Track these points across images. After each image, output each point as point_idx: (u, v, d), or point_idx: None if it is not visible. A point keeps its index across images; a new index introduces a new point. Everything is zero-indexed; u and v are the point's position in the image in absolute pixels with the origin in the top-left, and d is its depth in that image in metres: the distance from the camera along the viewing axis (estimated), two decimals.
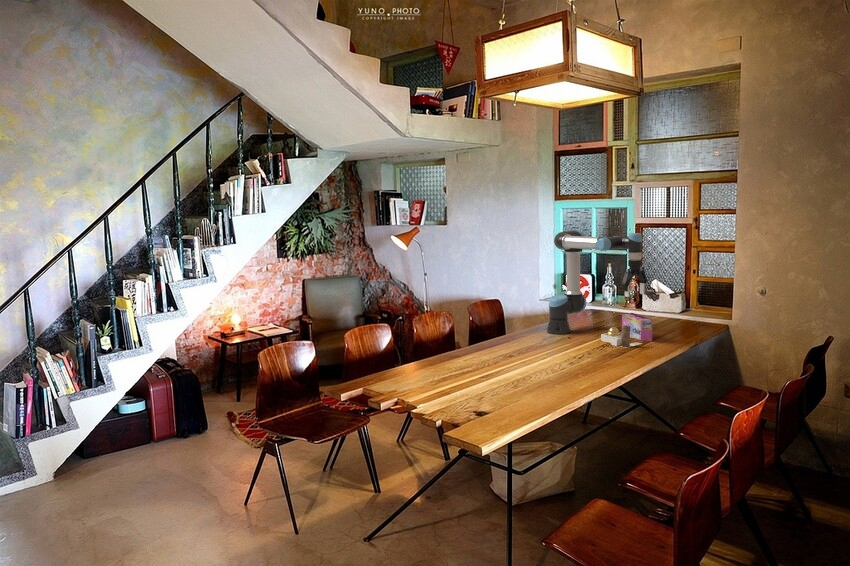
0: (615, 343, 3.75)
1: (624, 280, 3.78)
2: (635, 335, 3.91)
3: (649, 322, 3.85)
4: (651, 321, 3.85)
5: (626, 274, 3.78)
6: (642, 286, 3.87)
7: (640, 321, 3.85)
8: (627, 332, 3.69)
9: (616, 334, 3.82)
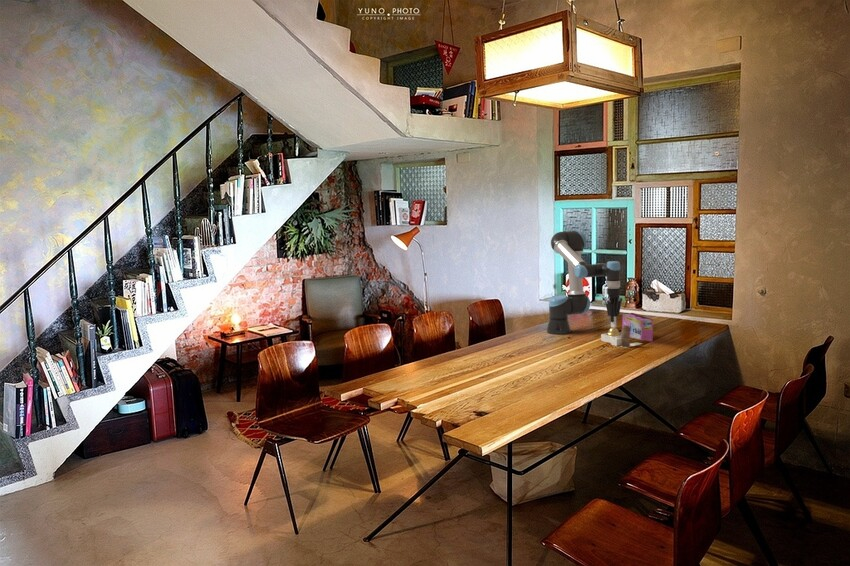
0: (615, 343, 3.75)
1: (608, 312, 3.82)
2: (635, 335, 3.91)
3: (650, 322, 3.85)
4: (651, 321, 3.85)
5: (607, 306, 3.81)
6: None
7: (641, 321, 3.85)
8: (627, 332, 3.69)
9: (616, 334, 3.82)
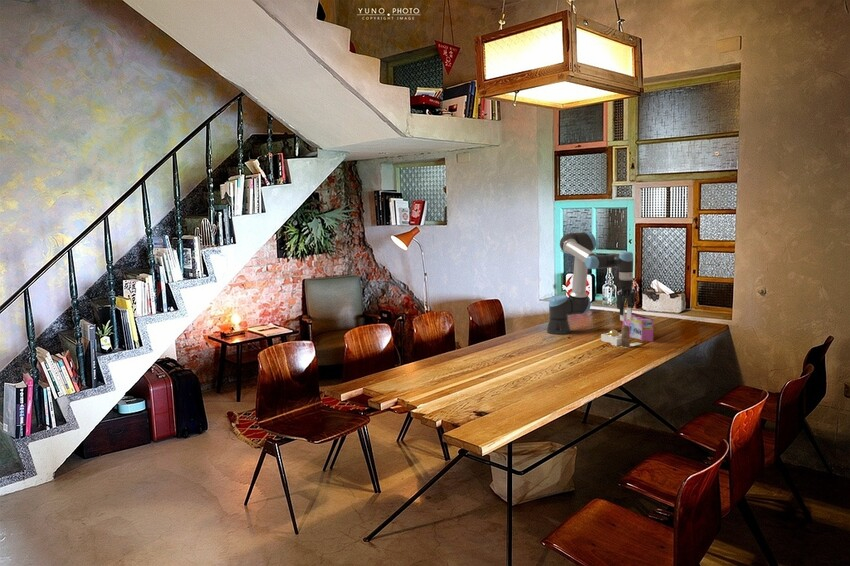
0: (615, 343, 3.75)
1: (618, 304, 3.65)
2: (636, 335, 3.91)
3: (650, 322, 3.85)
4: (652, 321, 3.85)
5: (618, 297, 3.65)
6: (629, 311, 3.70)
7: (641, 321, 3.85)
8: (627, 332, 3.69)
9: None
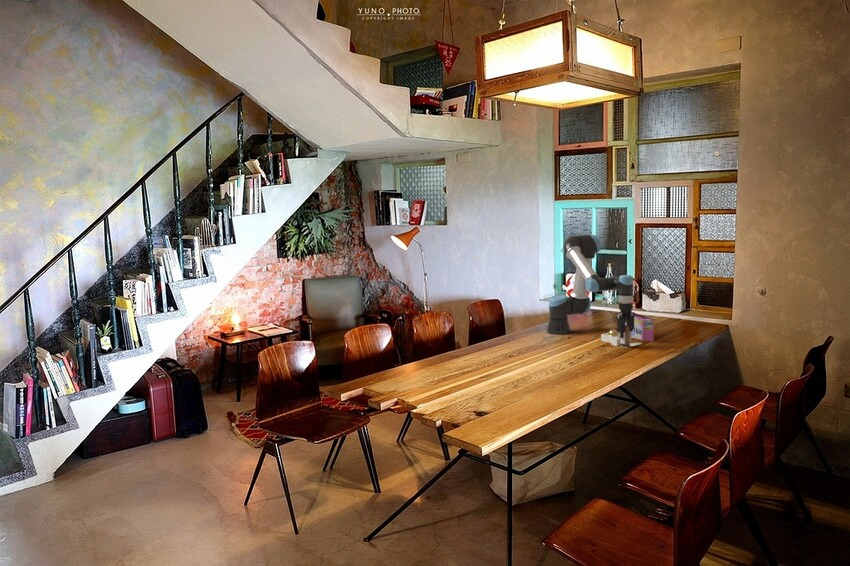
0: (615, 343, 3.75)
1: (619, 327, 3.67)
2: (636, 335, 3.91)
3: (651, 322, 3.85)
4: (652, 321, 3.85)
5: (618, 321, 3.67)
6: None
7: (641, 321, 3.85)
8: (627, 332, 3.69)
9: None
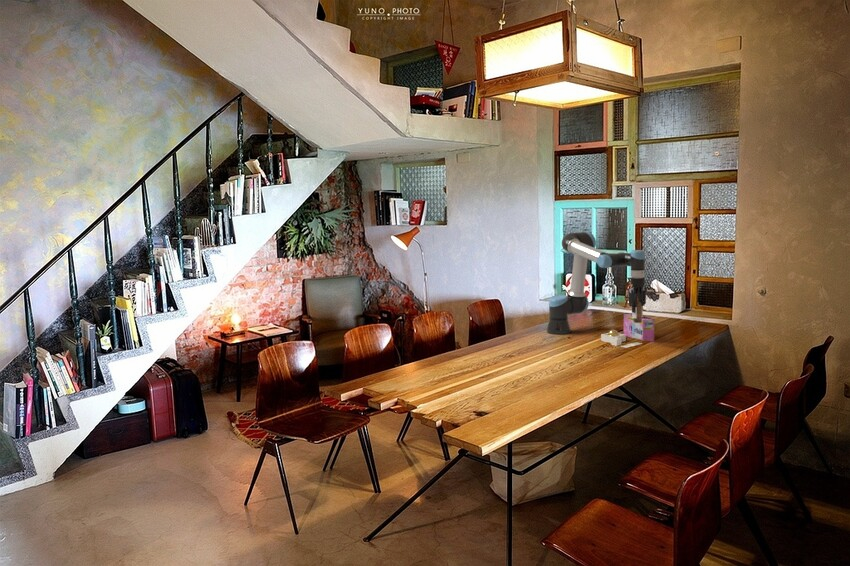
0: (615, 343, 3.75)
1: (630, 302, 3.71)
2: (637, 335, 3.91)
3: (651, 322, 3.85)
4: (653, 321, 3.85)
5: (630, 295, 3.70)
6: None
7: (642, 321, 3.85)
8: (639, 308, 3.73)
9: None
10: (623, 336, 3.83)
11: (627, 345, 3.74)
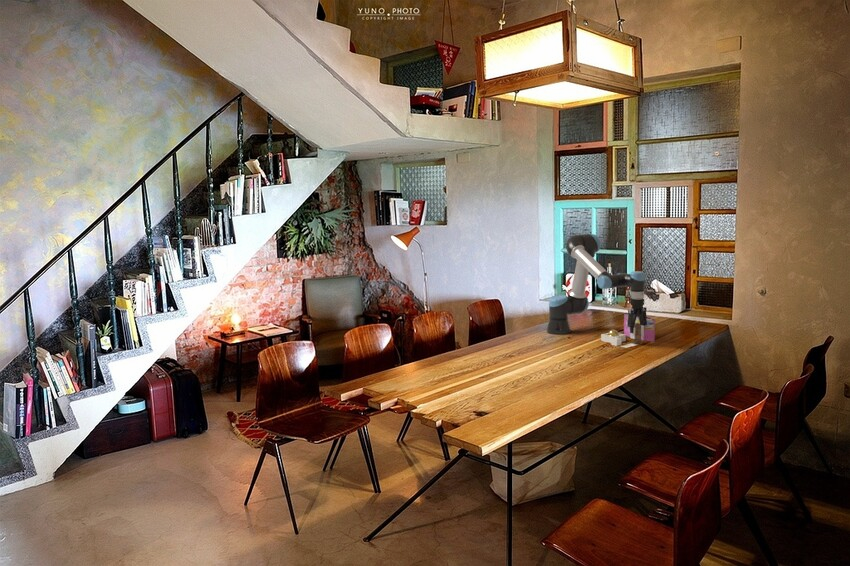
0: (615, 343, 3.75)
1: (629, 322, 3.72)
2: None
3: (652, 322, 3.85)
4: (653, 321, 3.85)
5: (630, 316, 3.72)
6: (641, 328, 3.78)
7: None
8: (639, 329, 3.74)
9: None
10: (623, 336, 3.83)
11: (627, 345, 3.74)
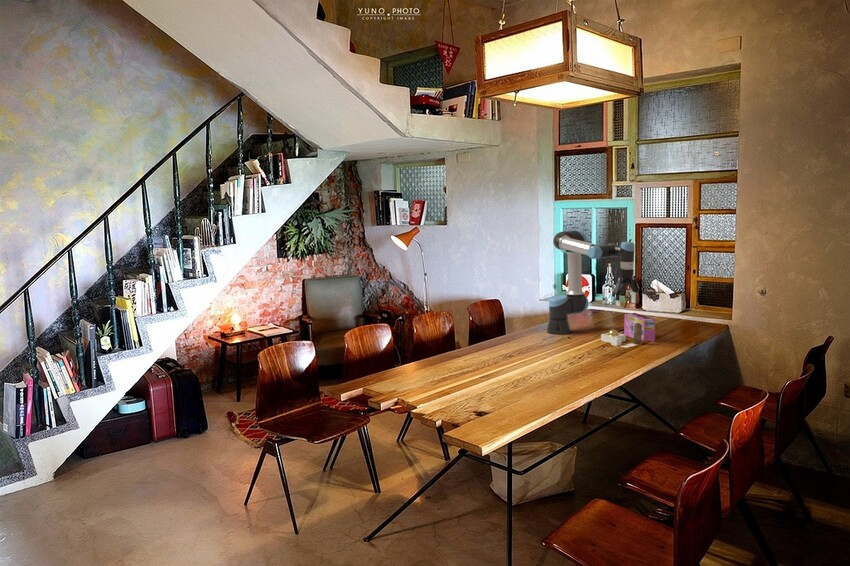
0: (615, 343, 3.75)
1: (616, 289, 3.76)
2: None
3: (652, 322, 3.85)
4: (654, 321, 3.85)
5: (618, 283, 3.76)
6: (634, 295, 3.85)
7: (643, 321, 3.85)
8: (639, 330, 3.74)
9: None
10: (623, 336, 3.83)
11: (627, 345, 3.74)
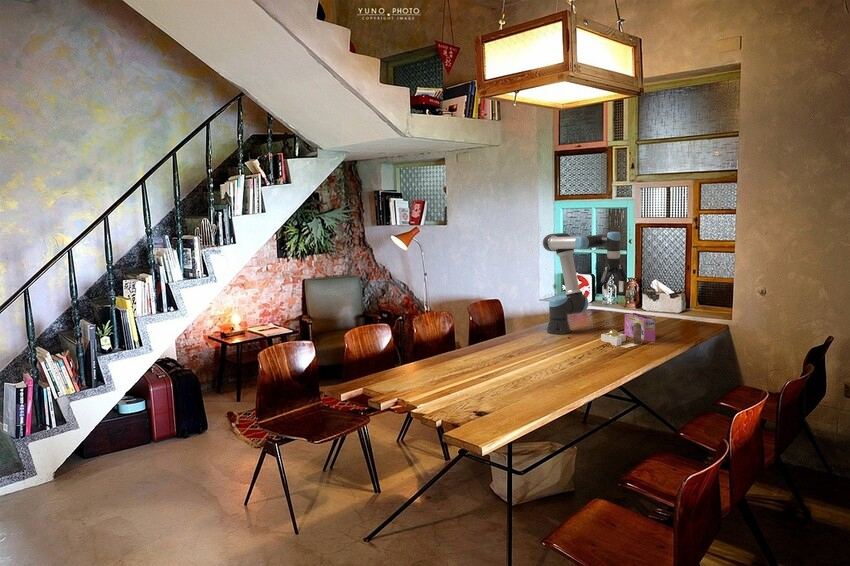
0: (615, 343, 3.75)
1: (603, 278, 3.84)
2: None
3: (653, 322, 3.85)
4: (654, 321, 3.85)
5: (605, 272, 3.85)
6: (621, 284, 3.93)
7: (643, 321, 3.85)
8: (638, 329, 3.75)
9: None
10: (623, 336, 3.83)
11: (627, 345, 3.74)
